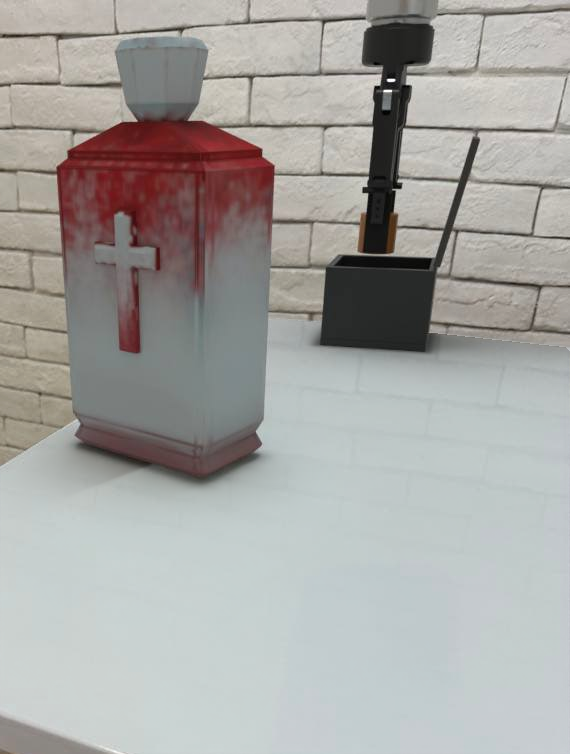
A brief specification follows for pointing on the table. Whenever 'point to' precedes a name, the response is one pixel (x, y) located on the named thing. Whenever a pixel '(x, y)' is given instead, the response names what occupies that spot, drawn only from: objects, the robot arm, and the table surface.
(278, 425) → the table surface
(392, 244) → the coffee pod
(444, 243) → the lid
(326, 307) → the black storage bin
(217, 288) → the bottle
